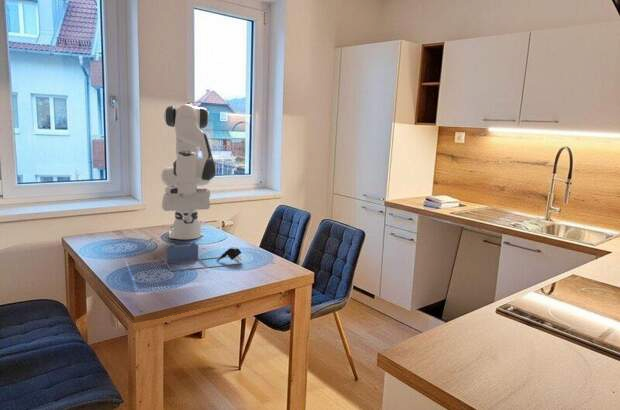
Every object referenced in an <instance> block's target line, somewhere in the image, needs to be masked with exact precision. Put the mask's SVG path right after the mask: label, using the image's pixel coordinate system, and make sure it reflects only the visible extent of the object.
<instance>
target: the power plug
mask: <svg viewBox="0 0 620 410" xmlns="http://www.w3.org/2000/svg"><path fill="white" fill-rule="evenodd" d="M241 253H242V251H241V250H240V248H238V247H233V246H232V247H230V248H228V249H227V250H225V251H224V252H223V253H222V254H221V256H219V257H220V258H217V260H216V262H219V261H220V260H222V259H224V257H225V256H229V257H228V258H229V259H230V260H231V261H233V260H234V258H236V260H237V261H238V262H240V261H242V260H243V259H242V258H241V256H240V255H241ZM225 258H226V257H225ZM236 260H235V261H236ZM237 261H236V262H237ZM238 262H237V263H238Z"/></svg>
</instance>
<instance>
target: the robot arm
mask: <svg viewBox="0 0 620 410" xmlns="http://www.w3.org/2000/svg"><path fill="white" fill-rule="evenodd" d="M163 118H164V122H165V124H166V125H167V127H170V128H171V127H172V128H174V132H175V155H176V160H175V161H174V162H172V163H173V164H172V165H173V166H166V167H165V168H163V170H162V172H161V175H160V176H161V181H162V182H163V184H164V185H165V186H166V187H165V188H164V192H165V193H164V194H163V196H162V199H161V200H162V201H161V203H162V204H161V209H162V211H165V212H174V211H175V212H174V218H175V219H174V220H173V222H172V223H171V224H169V229H171V230H169V231H168V238H169V239H176V240H194V239H195V240H196V239H199V238H200V237H204V233H202V232H201V230H202V229H201V221H200V220H199V213H198V210H209V209H210V208H211V201H210V197H211V191H210V190H209V189H207V188H206V187H205V188H199V187H204V186H207V185H209V184H210V183H211V180H213V178H215V176H216V174H217V167H216V163H215V159H214V158H213V154H212V151H211V146H210V143H209V139H208V135H207V134H206V133H205V132H204V131H203V129H205V128H207V126H208V124H209V121H210V115H209V112H208V110H207V109H206V108H205V107H201V106H200V107H198V106H193V105H191V104H186V103H185V104H182V105H181V104H180V105H178V106H177V105H176V106H174V105H170V106H167V107H166V108H165V111H164V114H163ZM198 148H199V149H200V152H201V156H202V158H201V157H200V158H199V150H198Z"/></svg>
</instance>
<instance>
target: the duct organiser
mask: <svg viewBox="0 0 620 410" xmlns="http://www.w3.org/2000/svg"><path fill="white" fill-rule="evenodd" d="M220 257H221V256H217V257H216V256H215V257H205V258H199V244H197V243H196V242H195V241H190V244H185V245H176V244H175V243H169V244H168V246H166V261H164V264H165V266H166V267H167V269H168V270H169V272H179V271H180V272H181V271H190V270H201V269H208V268H219V267H228V266H229V267H230V266H238V265H243V264H242V262H238V261H237V260H236V258H234V259H233V260H235V262H237V263H229V264H221V265H220V264H219V265H210V266H208V265H207V264H206V262H204V260H212V259H214V260H215V259H219V258H220ZM224 258H229V256H228V255H227V256H225V257H224ZM224 258H223V259H224ZM190 261H192V262H193V261H200V263H201V264H202V265H203V266H201V267H193V268H191V267H190V268H181V269H172V268H171V267H170V265H169V264H171V263H182V262H183V263H184V262H190Z"/></svg>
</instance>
